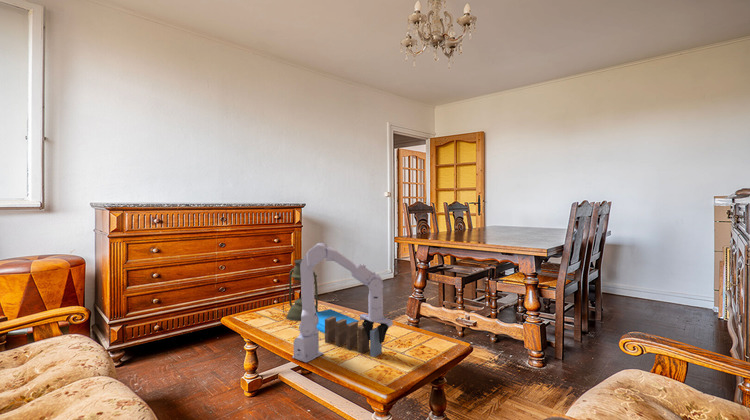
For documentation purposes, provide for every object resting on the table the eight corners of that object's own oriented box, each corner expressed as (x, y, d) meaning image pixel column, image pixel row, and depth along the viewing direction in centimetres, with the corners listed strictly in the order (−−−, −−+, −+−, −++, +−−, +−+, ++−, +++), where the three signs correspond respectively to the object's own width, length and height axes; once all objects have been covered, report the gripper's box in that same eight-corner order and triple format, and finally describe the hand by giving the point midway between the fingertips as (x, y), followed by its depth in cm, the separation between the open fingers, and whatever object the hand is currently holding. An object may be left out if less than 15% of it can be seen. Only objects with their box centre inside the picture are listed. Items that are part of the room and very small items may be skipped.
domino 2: (346, 342, 151) (346, 319, 151) (339, 346, 147) (338, 322, 147) (343, 341, 152) (343, 318, 152) (335, 345, 148) (335, 321, 148)
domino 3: (357, 346, 147) (357, 322, 147) (350, 350, 143) (350, 325, 143) (354, 344, 149) (353, 321, 148) (346, 349, 144) (346, 324, 144)
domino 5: (381, 352, 140) (381, 327, 140) (374, 357, 136) (374, 331, 136) (377, 351, 142) (377, 326, 141) (370, 356, 138) (369, 330, 137)
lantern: (328, 314, 190) (327, 258, 189) (305, 323, 175) (305, 263, 175) (300, 308, 201) (299, 256, 200) (276, 317, 186) (275, 260, 185)
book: (330, 308, 188) (359, 319, 169) (330, 317, 188) (359, 328, 169) (301, 315, 177) (329, 328, 158) (301, 324, 177) (329, 337, 158)
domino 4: (369, 349, 144) (369, 325, 144) (362, 353, 140) (361, 328, 140) (365, 348, 145) (365, 324, 145) (358, 352, 141) (357, 327, 141)
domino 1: (336, 339, 154) (336, 317, 154) (328, 343, 150) (328, 320, 150) (332, 338, 156) (332, 316, 155) (324, 342, 151) (324, 319, 151)
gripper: (396, 306, 138) (396, 341, 138) (366, 301, 146) (367, 333, 146) (386, 311, 132) (387, 347, 132) (356, 305, 140) (356, 339, 141)
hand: (375, 340), depth 139 cm, fingers open, 5 cm apart
